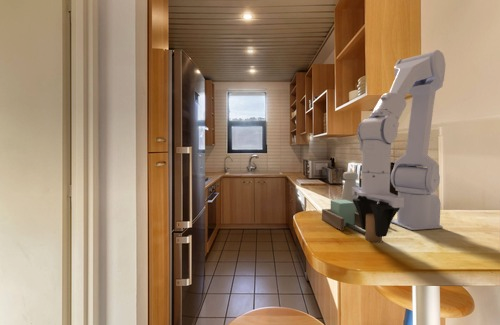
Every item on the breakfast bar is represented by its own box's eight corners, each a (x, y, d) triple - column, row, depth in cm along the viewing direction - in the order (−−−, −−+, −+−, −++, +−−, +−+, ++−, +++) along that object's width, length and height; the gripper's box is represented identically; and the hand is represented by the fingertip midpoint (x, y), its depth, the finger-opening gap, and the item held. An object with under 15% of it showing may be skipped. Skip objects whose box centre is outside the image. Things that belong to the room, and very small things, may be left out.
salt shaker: (361, 216, 79) (362, 173, 79) (341, 215, 80) (342, 172, 80) (357, 211, 85) (358, 171, 84) (338, 210, 86) (339, 170, 85)
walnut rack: (365, 217, 78) (365, 207, 78) (389, 227, 68) (390, 215, 68) (321, 219, 75) (322, 209, 75) (340, 230, 66) (341, 218, 65)
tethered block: (344, 220, 74) (345, 199, 74) (387, 241, 58) (388, 214, 58) (330, 221, 74) (330, 200, 73) (369, 243, 57) (370, 215, 57)
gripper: (341, 169, 65) (340, 224, 65) (382, 176, 50) (380, 245, 51) (366, 169, 66) (365, 222, 67) (414, 175, 52) (411, 243, 53)
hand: (373, 232), depth 59 cm, fingers open, 4 cm apart
